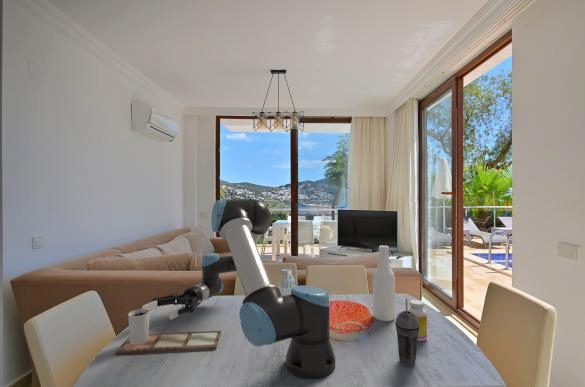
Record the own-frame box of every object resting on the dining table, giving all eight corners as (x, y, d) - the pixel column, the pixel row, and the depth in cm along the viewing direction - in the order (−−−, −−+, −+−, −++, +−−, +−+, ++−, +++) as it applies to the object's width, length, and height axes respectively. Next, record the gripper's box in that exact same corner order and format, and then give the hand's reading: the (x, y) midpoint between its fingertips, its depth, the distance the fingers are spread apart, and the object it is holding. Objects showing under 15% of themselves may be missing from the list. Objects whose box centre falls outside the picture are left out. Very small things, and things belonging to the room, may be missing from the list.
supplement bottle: (429, 337, 112) (429, 301, 112) (422, 343, 107) (422, 306, 107) (411, 331, 117) (411, 297, 116) (403, 337, 112) (403, 302, 112)
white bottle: (399, 318, 128) (399, 246, 128) (385, 324, 123) (385, 248, 123) (382, 312, 135) (382, 243, 135) (368, 316, 130) (368, 245, 130)
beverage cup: (422, 360, 97) (422, 296, 97) (417, 371, 91) (417, 303, 91) (398, 353, 101) (398, 292, 101) (392, 364, 95) (392, 298, 95)
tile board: (216, 349, 104) (216, 346, 104) (115, 355, 100) (115, 351, 100) (220, 333, 116) (220, 330, 116) (130, 337, 112) (130, 334, 112)
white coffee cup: (129, 338, 109) (129, 310, 109) (150, 335, 112) (149, 307, 112) (127, 347, 103) (127, 317, 103) (149, 343, 106) (149, 314, 105)
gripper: (219, 307, 128) (182, 328, 108) (173, 299, 138) (132, 317, 118) (219, 289, 128) (182, 307, 108) (173, 282, 138) (131, 297, 118)
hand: (155, 312), depth 113 cm, fingers open, 13 cm apart
